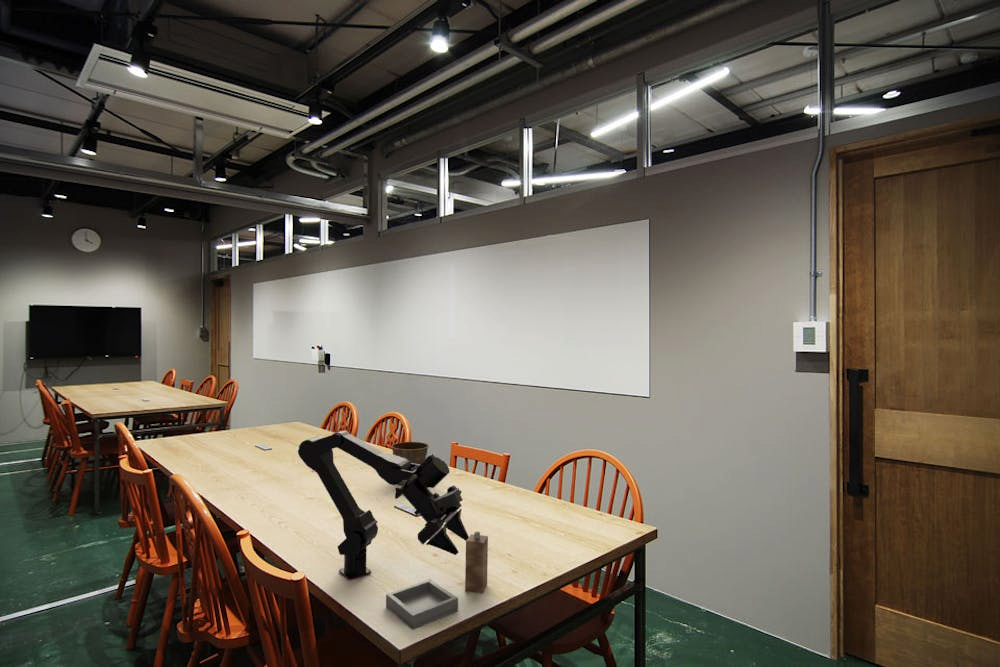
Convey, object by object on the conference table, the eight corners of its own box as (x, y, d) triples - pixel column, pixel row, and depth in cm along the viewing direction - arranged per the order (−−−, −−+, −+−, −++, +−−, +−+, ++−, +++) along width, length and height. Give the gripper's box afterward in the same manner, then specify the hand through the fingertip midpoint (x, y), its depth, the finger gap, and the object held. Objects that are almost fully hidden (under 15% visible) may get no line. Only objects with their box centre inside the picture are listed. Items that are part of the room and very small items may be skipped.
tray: (385, 607, 119) (386, 594, 119) (429, 591, 126) (429, 579, 126) (412, 629, 109) (412, 615, 110) (457, 611, 117) (458, 598, 117)
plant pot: (435, 482, 224) (436, 445, 224) (406, 489, 212) (407, 450, 212) (412, 475, 235) (413, 440, 235) (383, 482, 223) (383, 445, 223)
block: (465, 591, 127) (466, 534, 127) (470, 583, 131) (471, 528, 131) (482, 593, 126) (483, 536, 126) (487, 585, 130) (487, 530, 130)
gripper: (430, 489, 122) (474, 539, 119) (454, 470, 140) (493, 513, 137) (399, 519, 123) (442, 570, 121) (427, 496, 142) (465, 540, 139)
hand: (462, 546), depth 129 cm, fingers open, 9 cm apart
